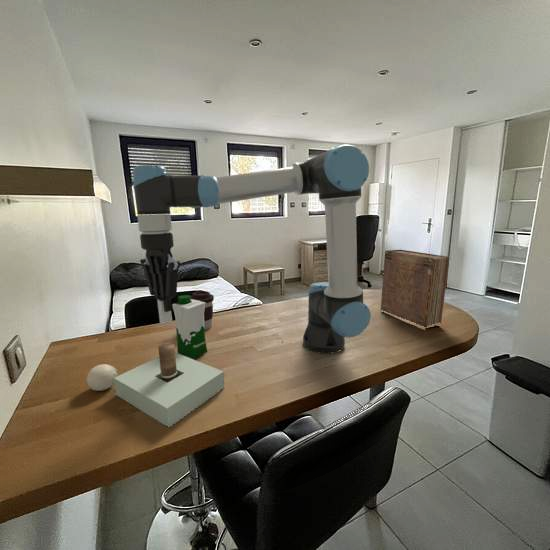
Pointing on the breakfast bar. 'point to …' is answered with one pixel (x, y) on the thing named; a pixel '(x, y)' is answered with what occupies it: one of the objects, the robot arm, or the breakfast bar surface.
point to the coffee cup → (208, 311)
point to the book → (414, 286)
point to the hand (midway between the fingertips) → (166, 322)
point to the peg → (167, 362)
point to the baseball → (101, 377)
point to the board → (169, 388)
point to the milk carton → (190, 326)
